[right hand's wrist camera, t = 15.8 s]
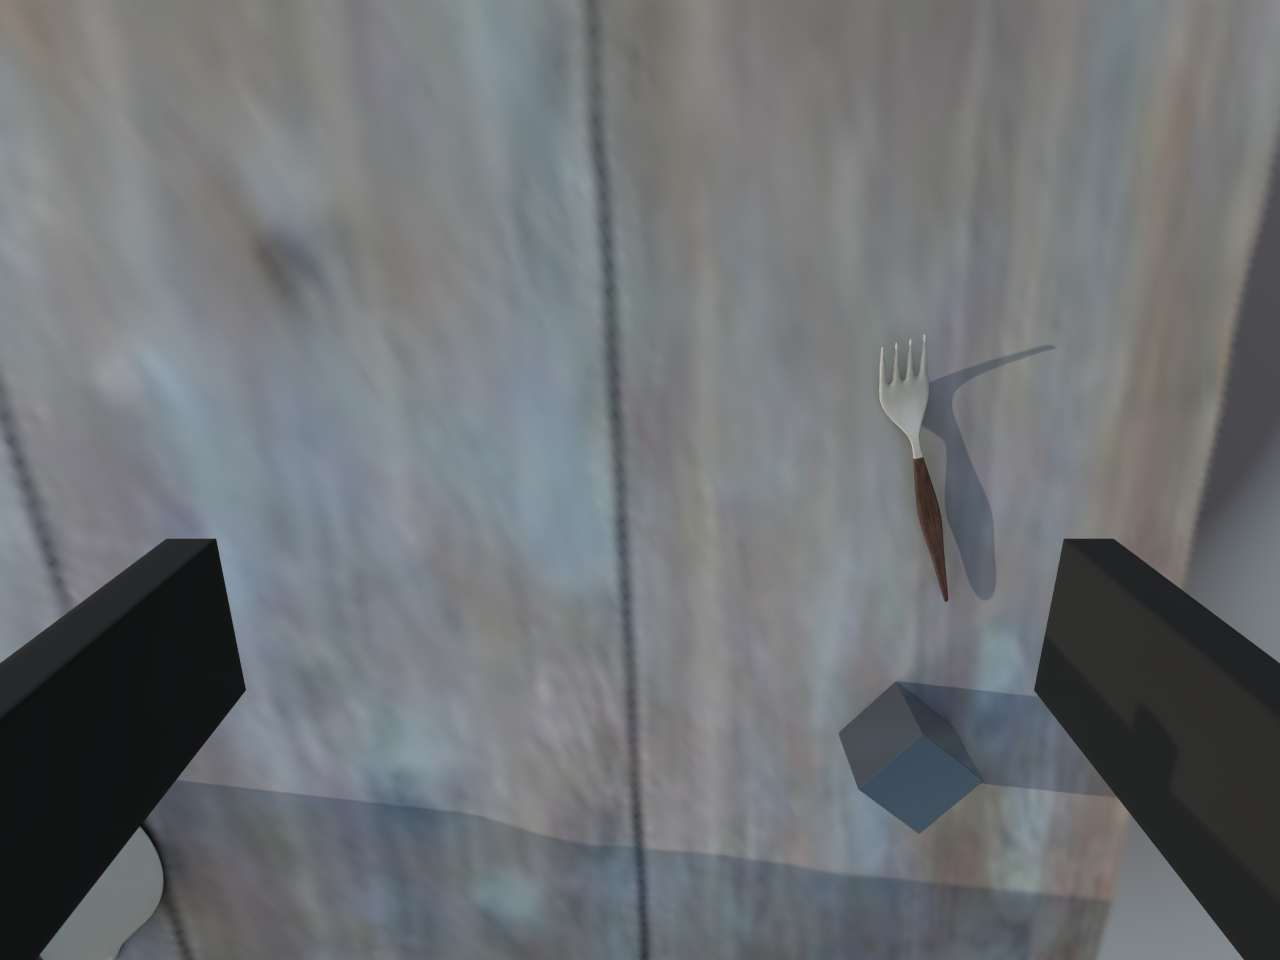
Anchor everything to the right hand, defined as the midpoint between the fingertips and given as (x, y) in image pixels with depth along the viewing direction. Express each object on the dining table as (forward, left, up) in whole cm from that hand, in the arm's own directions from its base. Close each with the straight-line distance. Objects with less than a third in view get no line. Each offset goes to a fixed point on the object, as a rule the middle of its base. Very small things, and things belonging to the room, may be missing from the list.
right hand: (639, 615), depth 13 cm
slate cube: (-1, +30, -31) cm, 43 cm away
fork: (-9, +15, -31) cm, 35 cm away
